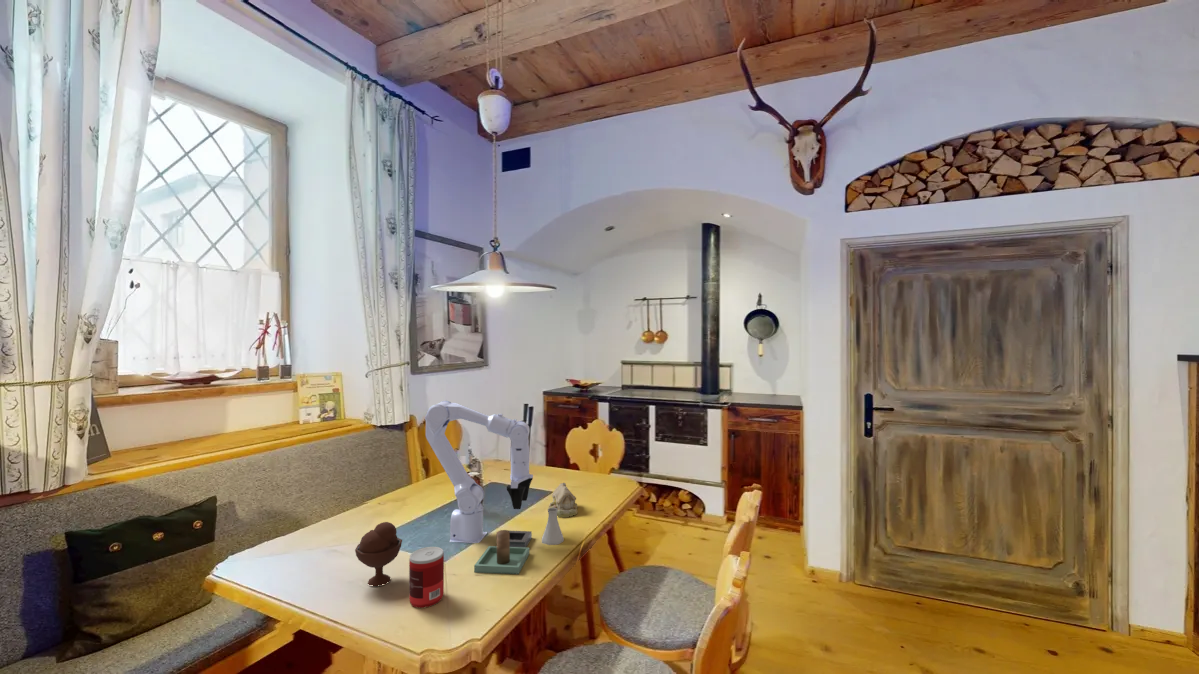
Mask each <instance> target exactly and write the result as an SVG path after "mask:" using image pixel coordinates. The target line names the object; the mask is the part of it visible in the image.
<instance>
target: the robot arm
mask: <svg viewBox="0 0 1199 674" xmlns="http://www.w3.org/2000/svg"><path fill="white" fill-rule="evenodd" d="M503 415H504V414H503V413H498V414H497V413H494V414H491V415H488V414H486V413H483V412H480V411H477V410H475V409H473V408H470V407H468V406H465V405H462V404H460V403H457V402H451V401H449V400H441V401H440V402H438V403H435V404H432V405H431V406H430V407H428V409H427V412H426V414H425V416H424V420H425V438H426V441H427V442H428V444H429V445H430V447H431V449H432V451H433V452H434V454H435V456H436V458H437V460H438V461H439V462H440V464H441V466H442V468H443V469H444V472H445V473H446V475H447V476H448V478H449V480H450V482H451V484H452V485H453V486H454V487H453V488H454V496H455V497H456V498H455V499H456V501H457V507H458V509H454V510H453V511H452V512H451V516H450V536H449V539H450V540H449V543H466V544H467V543H468V544H469V543H470V544H473V543H474V544H480V543H481V541H482V540H483V539H484V538H485V537H486V536H487V534H488V532H487V531H484V506H483V504H482V501H483V499H484V497H485V491H484V489H483V487H482V486H481V485H479V484H478V483H476V481H475V480H474V478H472V477H471V476H470V475H469V474H468V472H467V471H466V469H465V467H464V465H463V463H462V462H461V459H460V458H459V457H458V455H457V453H456V451H455V449H454V448H453V447H452V444H451V443H450V441H449V439H448V438H447V436H446V434H445V433H446V430H447V427H448V424H449V423H450V422H452V421H455V420H465V421H466V422H467V421H468V422H471V423H475V424H478V425H481V426H485V428H486V429H487V432H490V433H492V434H495V435H499V436H501V437H504V438H509V439H510V441H511V443H510V475H509V476H510V477H509V478H510V484H508V485H507V486H506V491H507V492H508V494H509V495H508V496H509V497H510V500H511V504H512V509H513V510H521V509H522V504H523V502H526V501H528V496H529V490H530V486H531V483H532V481H533V479H534V475H533V474H530V445H529V444H530V440H529V435H530V431H531V430H530V426H529V424H528V423H526V422H525V421H523V420H518V419H516V418H514V419H511V418H508V417H505V416H503Z"/></svg>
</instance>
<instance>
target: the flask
mask: <svg viewBox="0 0 1199 674" xmlns="http://www.w3.org/2000/svg"><path fill="white" fill-rule="evenodd" d="M557 512H558V508H549V509H548V508H547V513H548V518H547V523H546V526H545V529H544V531H543V534H542V537H541V544H543V545H547V546H555V545H556V546H557V545H561V544H562V543H563V542H564V541H565V538H564V536H563V533H562V530H561V527H560V524H559V521H558V517H557Z"/></svg>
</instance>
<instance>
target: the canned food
mask: <svg viewBox="0 0 1199 674" xmlns="http://www.w3.org/2000/svg"><path fill="white" fill-rule="evenodd" d="M444 555H445V554H444V549H443V548H441V547H439V546H427V547H421V548H418V549H417V550H414V551H413V552H412V553H410V555H409V560H408V561H409V563H408V564H409V567H408V568H409V570H408V572H409V573H408V575H409V576H408V577H409V579H408V583H409V584H408V585H409V588H408V590H409V603H410V605H411V606H412V607H414V608H418V609H423V608H424V607H426V608H429V606H430V607H433V606H435V605H436V603H437V604H438V603H440V602H441V601H442V599H443V597H444V590H445V587H444V583H445V582H444V578H445V576H444V575H445V572H444V571H445V563H444V562H445V560H444V559H445V557H444ZM434 604H435V605H434ZM432 605H433V606H432Z"/></svg>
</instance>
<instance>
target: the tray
mask: <svg viewBox="0 0 1199 674" xmlns="http://www.w3.org/2000/svg"><path fill="white" fill-rule="evenodd" d="M529 556H530V547H528V546H527V547H510V562H509V563H507V564H498V563H497V545H488V546H487V547H486V548H485V551H484V552H483V553H482V555H481V556H480V557H479V559H478V560H477V561H476V563H475V564H474V565H473V566H474V570H473V571H474V572H473V573H475V574H476V573H477V574H478V573H479V574H480V573H481V574H500V575H503V574H504V575H519V574H520V573H521V571H522V568H523V567H524V566H525V564H526V561H527V560H528V559H529Z"/></svg>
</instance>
